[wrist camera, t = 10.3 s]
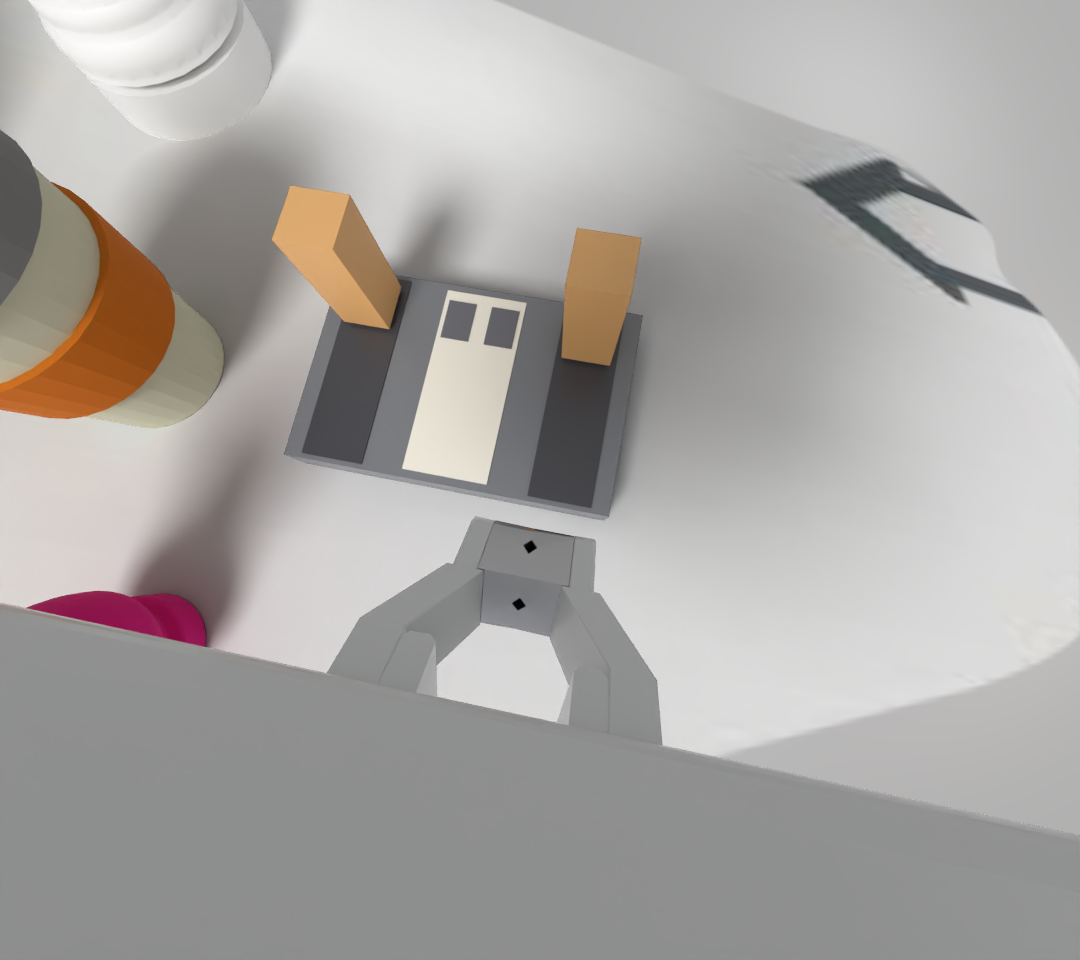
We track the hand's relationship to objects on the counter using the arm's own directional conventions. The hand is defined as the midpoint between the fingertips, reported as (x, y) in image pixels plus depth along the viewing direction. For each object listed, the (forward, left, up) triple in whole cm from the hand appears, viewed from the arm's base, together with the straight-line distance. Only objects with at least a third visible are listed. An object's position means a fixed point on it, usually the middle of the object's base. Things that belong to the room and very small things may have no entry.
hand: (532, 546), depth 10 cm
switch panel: (-11, +2, -16) cm, 20 cm away
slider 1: (-19, 0, -14) cm, 23 cm away
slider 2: (-9, +10, -14) cm, 19 cm away
